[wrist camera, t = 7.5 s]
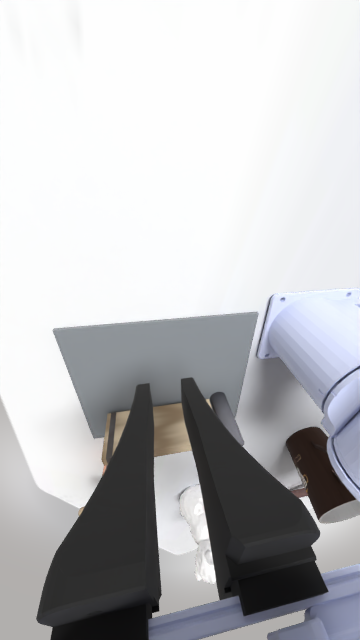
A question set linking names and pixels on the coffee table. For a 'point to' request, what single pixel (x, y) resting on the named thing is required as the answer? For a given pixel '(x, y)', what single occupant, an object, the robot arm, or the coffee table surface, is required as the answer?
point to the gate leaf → (166, 431)
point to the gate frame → (158, 363)
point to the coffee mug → (321, 477)
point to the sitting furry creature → (198, 532)
